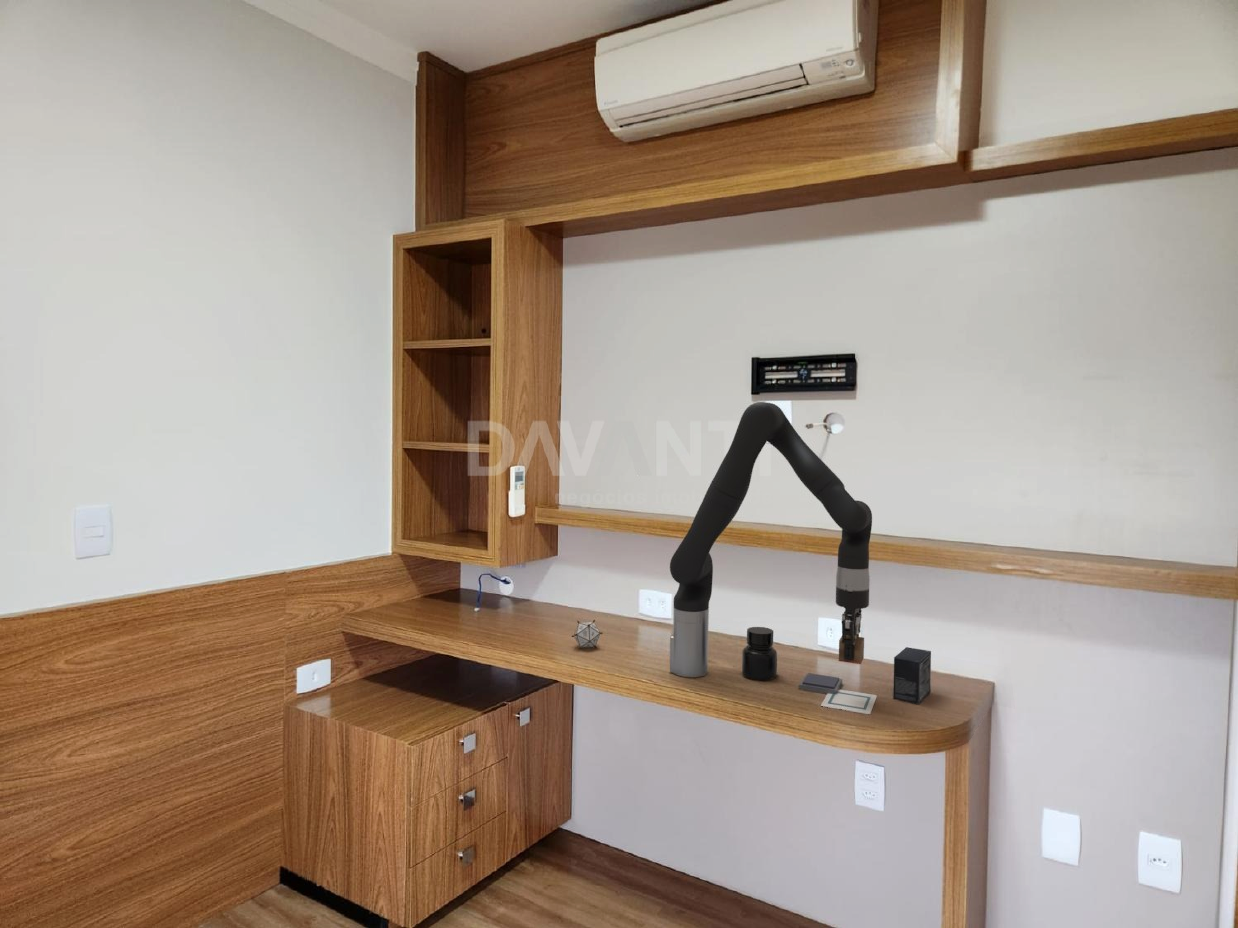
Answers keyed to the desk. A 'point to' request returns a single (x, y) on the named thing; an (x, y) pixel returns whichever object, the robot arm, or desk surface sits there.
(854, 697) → the sheet
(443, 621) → the desk surface
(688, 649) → the robot arm
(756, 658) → the ink bottle
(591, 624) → the game die
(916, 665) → the small box
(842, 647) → the stamp
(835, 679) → the ink pad
